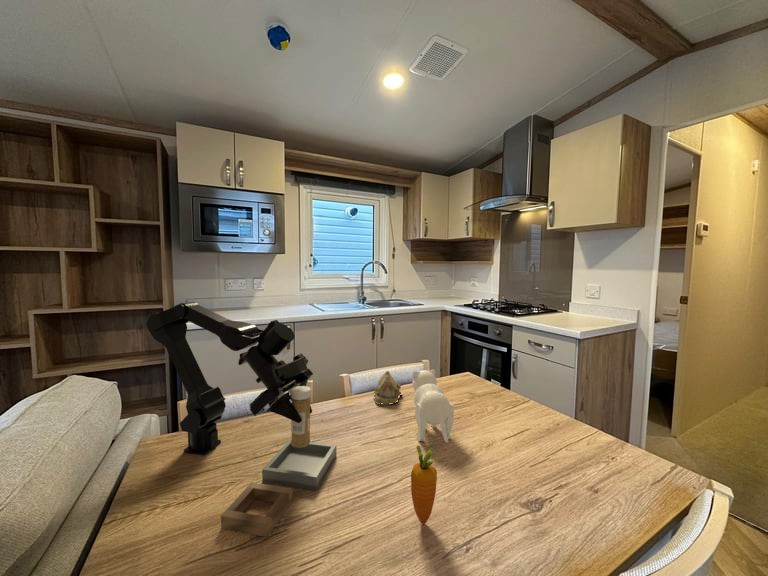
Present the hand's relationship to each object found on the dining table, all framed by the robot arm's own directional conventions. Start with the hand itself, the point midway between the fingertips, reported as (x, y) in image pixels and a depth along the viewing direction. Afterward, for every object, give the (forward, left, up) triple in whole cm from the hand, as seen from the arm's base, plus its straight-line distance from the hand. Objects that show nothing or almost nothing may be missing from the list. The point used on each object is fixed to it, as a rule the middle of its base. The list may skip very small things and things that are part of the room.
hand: (305, 417), depth 77 cm
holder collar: (-3, -15, -13) cm, 20 cm away
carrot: (+29, -11, -13) cm, 33 cm away
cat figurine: (+29, +23, -13) cm, 39 cm away
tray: (-1, 0, -13) cm, 13 cm away
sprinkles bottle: (-1, 0, -7) cm, 7 cm away
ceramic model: (+11, +46, -13) cm, 50 cm away
